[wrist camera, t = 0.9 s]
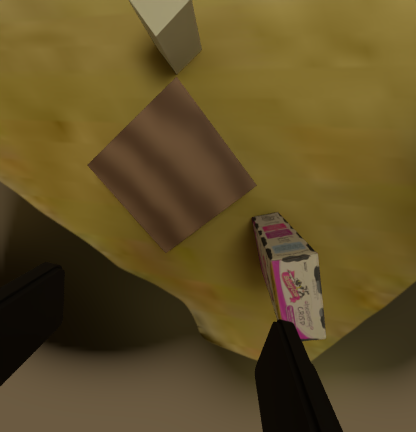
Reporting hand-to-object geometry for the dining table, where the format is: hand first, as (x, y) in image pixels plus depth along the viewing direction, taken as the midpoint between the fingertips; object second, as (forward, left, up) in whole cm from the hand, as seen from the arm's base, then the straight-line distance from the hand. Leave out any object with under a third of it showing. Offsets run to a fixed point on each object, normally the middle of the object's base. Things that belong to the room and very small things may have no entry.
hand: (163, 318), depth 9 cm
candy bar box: (-4, +13, -29) cm, 32 cm away
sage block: (-11, -21, -28) cm, 37 cm away
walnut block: (+1, -7, -29) cm, 30 cm away
